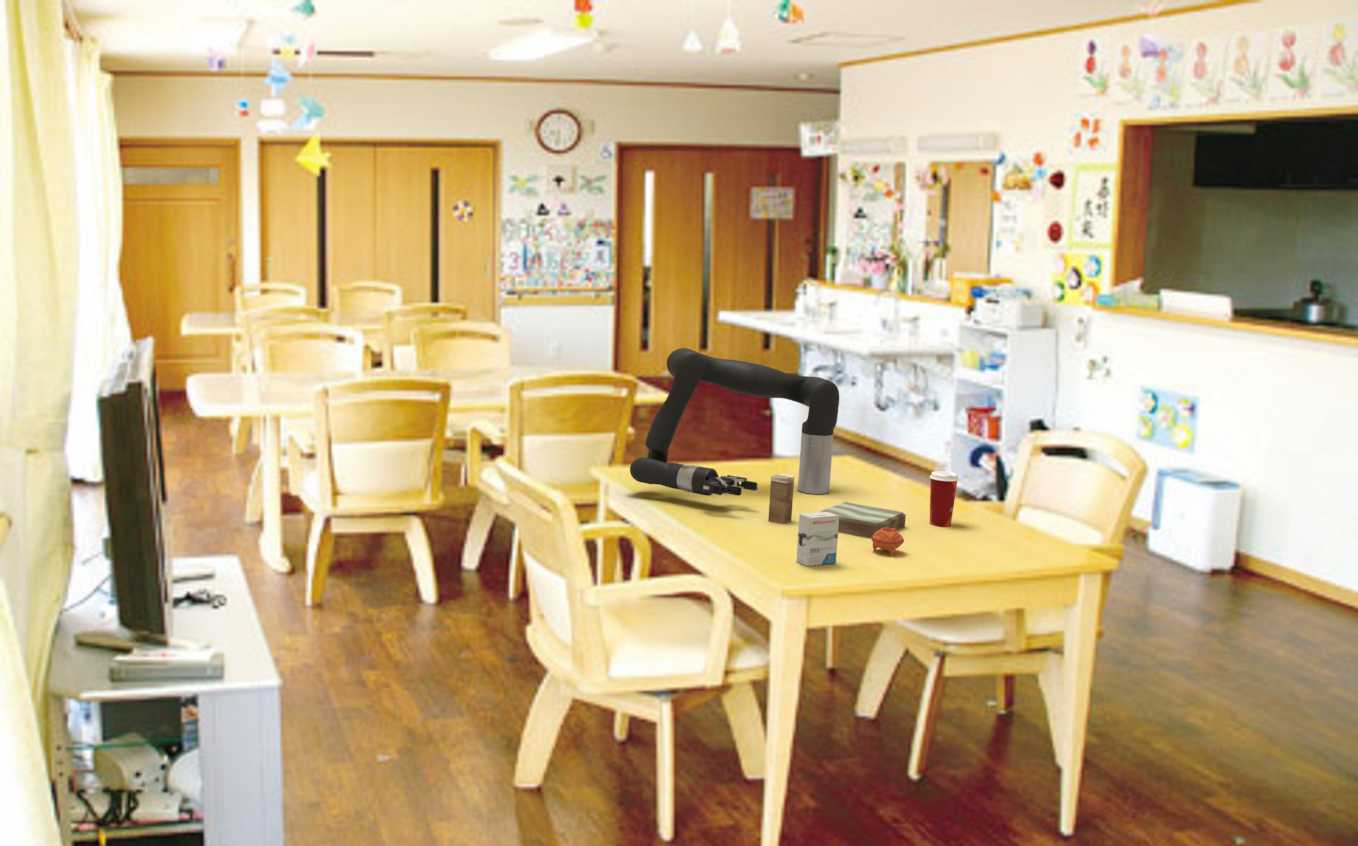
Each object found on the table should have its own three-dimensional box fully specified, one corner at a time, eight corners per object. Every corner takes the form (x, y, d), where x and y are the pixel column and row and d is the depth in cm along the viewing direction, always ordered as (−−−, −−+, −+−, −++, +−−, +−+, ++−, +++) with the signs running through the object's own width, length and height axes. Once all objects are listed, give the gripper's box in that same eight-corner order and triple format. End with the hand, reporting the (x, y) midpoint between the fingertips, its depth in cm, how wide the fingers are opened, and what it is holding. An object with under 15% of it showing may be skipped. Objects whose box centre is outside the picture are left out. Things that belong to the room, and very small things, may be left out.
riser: (843, 515, 379) (844, 501, 378) (904, 526, 369) (905, 512, 369) (813, 527, 364) (814, 512, 363) (877, 539, 354) (878, 524, 354)
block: (776, 517, 372) (779, 473, 370) (791, 520, 369) (794, 476, 367) (768, 520, 368) (770, 476, 366) (783, 523, 366) (786, 478, 363)
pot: (870, 554, 338) (871, 526, 339) (870, 554, 346) (871, 526, 346) (904, 556, 337) (905, 528, 338) (902, 555, 345) (903, 528, 345)
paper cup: (960, 527, 373) (964, 475, 370) (935, 528, 370) (940, 476, 367) (944, 520, 380) (948, 469, 377) (920, 521, 377) (924, 470, 375)
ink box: (825, 558, 333) (828, 510, 331) (836, 563, 329) (840, 515, 327) (795, 561, 329) (798, 512, 327) (806, 566, 325) (809, 517, 323)
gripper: (684, 470, 374) (736, 479, 366) (711, 462, 386) (762, 471, 378) (682, 497, 376) (734, 507, 367) (709, 489, 388) (760, 498, 379)
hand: (748, 489), depth 373 cm, fingers open, 8 cm apart
